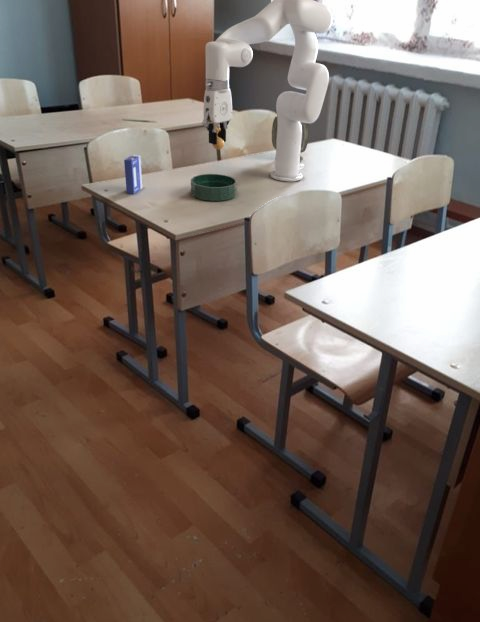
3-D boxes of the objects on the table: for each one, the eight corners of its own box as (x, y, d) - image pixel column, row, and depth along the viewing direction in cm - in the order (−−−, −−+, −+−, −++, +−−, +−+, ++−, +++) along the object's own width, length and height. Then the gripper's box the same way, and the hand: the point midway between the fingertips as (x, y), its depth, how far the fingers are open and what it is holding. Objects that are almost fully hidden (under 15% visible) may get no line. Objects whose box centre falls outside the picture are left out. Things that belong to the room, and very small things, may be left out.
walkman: (133, 194, 209) (131, 159, 202) (126, 193, 209) (123, 158, 203) (143, 187, 215) (141, 154, 209) (135, 186, 216) (133, 153, 209)
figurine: (228, 152, 202) (229, 114, 196) (212, 152, 199) (213, 115, 193) (218, 146, 208) (219, 110, 202) (202, 147, 205) (203, 110, 199)
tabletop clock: (273, 161, 255) (277, 99, 241) (269, 156, 262) (272, 95, 249) (306, 161, 258) (311, 100, 244) (301, 156, 265) (306, 96, 252)
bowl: (211, 184, 223) (211, 171, 220) (245, 194, 216) (245, 180, 213) (181, 194, 212) (181, 180, 209) (216, 205, 204) (216, 190, 202)
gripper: (209, 89, 186) (209, 149, 196) (242, 83, 197) (241, 140, 207) (191, 85, 189) (192, 144, 199) (225, 80, 201) (224, 136, 211)
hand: (217, 141), depth 203 cm, fingers closed on figurine, 4 cm apart
